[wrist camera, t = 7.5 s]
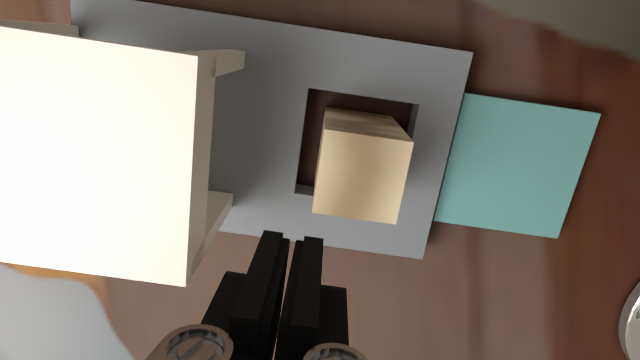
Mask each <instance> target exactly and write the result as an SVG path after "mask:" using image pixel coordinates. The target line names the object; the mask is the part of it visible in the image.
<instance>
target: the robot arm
mask: <svg viewBox="0 0 640 360" xmlns="http://www.w3.org/2000/svg"><path fill="white" fill-rule="evenodd" d="M323 241H324V238H317V237H310V236H304V241H302V240H296V243H295V248H294V253H293V258H292V263H291V268H290V272H289V277H288V282H287V287H286V292H285V297H284V302H283V307H282V312H281V306H282V298H283V290H284V283H285V275H286V268H287V260H288V253H289V245H290V239H288V238H283V233H282V232H275V231H269V230H264V231H263V233H262V236H261V239H260V241H259V244H258V246H257V249H256V251H255V254H254V257H253V259H252V262H251V264H250V267H249V269H248V272H247V274H244V273H237V272H230V271H227V272H226V273H225V274H224V276H223V278H222V281H221V283H220V285H219V287H218V289H217V291H216V293H215V295H214V297H213V299H212V301H211V303H210V305H209V307H208V309H207V311H206V313H205V315H204V318H203V320H202V322H201V324H193V325H187V326H183V327H180V328H178V329H176V330H174V331H172V332H170V333H169V334H168V335H166V336H165V337H164V338H163V339H162V340H161V341H160V343H159V344H158V345H157V346H156V347H155V348H154V350H153V351H152V352H151V353H150V354H149V356H148V357H147V358H146V359H145V360H272V358H273V353H274V348H275V343H276V338H277V343H276V350H275V358H274V360H368V359H367V358H366V357H365V355H364V354H363V353H361V352H359V351H358V350H356V349H355V348H353V347H350V346H349V339H348V316H347V294H346V288H341V287H334V286H327V285H321V273H322V257H323ZM280 313H281V317H280ZM279 321H280V322H279ZM278 327H279V329H278ZM277 333H278V335H277ZM619 339H620V344H621V348H622V349H623V351H624V353H625V355H626V357H627V358H628V360H640V282H639V283H638V284H637V285H636V287H635V288H634V289H633V291H632V292H631V294H630V295H629V296H628V299H627V301H626V303H625V305H624V307H623V309H622V312H621V316H620V320H619Z"/></svg>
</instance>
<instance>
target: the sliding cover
mask: <svg viewBox="0 0 640 360" xmlns="http://www.w3.org/2000/svg"><path fill="white" fill-rule="evenodd" d="M245 53H246V51H240V50H234V49H217V50H201V51H185V52H177V51H170V50H163V49H157V48H150V47H143V46H137V45H130V44H123V43H117V42H110V41H104V40H97V39H90V38H84V37H79V26H75V25H69V24H62V23H49V22H35V21H21V20H7V19H0V262H6V263H14V264H21V265H28V266H36V267H43V268H50V269H57V270H65V271H72V272H79V273H87V274H94V275H101V276H109V277H116V278H123V279H131V280H138V281H145V282H153V283H160V284H167V285H175V286H182V287H186V285H187V284H188V282H189V280H190V278H191V277H192V275H193V273H194V272H195V270H196V268H197V267H198V265H199V263H200V261H201V260H202V258H203V256H204V255H205V253H206V251H207V249H208V248H209V246H210V244H211V243H212V241H213V239H214V238H215V236H216V234H217V232H218V231H219V229H220V227H221V226H222V224H223V222H224V220H225V219H226V217H227V215H228V214H229V212H230V210H231V209H232V203H233V194H231V193H224V192H217V191H210V190H208V180H209V165H210V151H211V136H212V121H213V106H214V91H215V77H217V76H220V75H224V74H227V73H230V72H234V71H237V70H240V69H243V68H244V65H245Z"/></svg>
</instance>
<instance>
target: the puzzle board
mask: <svg viewBox="0 0 640 360" xmlns="http://www.w3.org/2000/svg"><path fill="white" fill-rule="evenodd" d="M70 1H71V25H75V26H79V37H84V38H90V39H97V40H104V41H110V42H117V43H123V44H130V45H137V46H143V47H150V48H157V49H163V50H170V51H177V52H185V51H201V50H217V49H234V50H240V51H246V53H245V65H244V68H243V69H240V70H237V71H234V72H230V73H227V74H224V75H220V76H217V77H215V91H214V106H213V121H212V136H211V151H210V165H209V180H208V190H210V191H217V192H224V193H231V194H233V203H232V209H231V210H230V212H229V214H228V215H227V217H226V219H225V220H224V222H223V224H222V226H221V227H220V229H219V231H224V232H231V233H238V234H245V235H253V236H260V237H261V236H262V233H263V231H264V230H269V231H275V232H282V233H283V238H288V239H290V241H295V242H296V240H302V241H304V236H310V237H317V238H324V241H323V245H324V246H331V247H338V248H345V249H352V250H360V251H367V252H374V253H381V254H388V255H395V256H402V257H410V258H417V259H423V255H424V251H425V247H426V243H427V239H428V235H429V231H430V227H431V223H432V219H433V215H434V211H435V207H436V202H437V198H438V194H439V190H440V186H441V182H442V178H443V174H444V170H445V166H446V162H447V158H448V154H449V150H450V146H451V142H452V137H453V133H454V129H455V125H456V121H457V117H458V113H459V109H460V105H461V101H462V97H463V93H464V89H465V85H466V81H467V77H468V73H469V68H470V64H471V60H472V56H473V52H468V51H461V50H455V49H448V48H442V47H435V46H428V45H422V44H415V43H409V42H402V41H396V40H389V39H383V38H376V37H370V36H363V35H357V34H350V33H344V32H337V31H331V30H324V29H318V28H311V27H305V26H298V25H292V24H285V23H279V22H272V21H266V20H259V19H252V18H246V17H239V16H233V15H226V14H220V13H213V12H207V11H200V10H194V9H187V8H181V7H174V6H168V5H161V4H155V3H148V2H142V1H135V0H70ZM309 88H313V89H319V90H326V91H333V92H339V93H346V94H353V95H359V96H366V97H373V98H380V99H386V100H393V101H400V102H406V103H413V106H412V110H411V115H410V120H409V124H408V129H407V135H408V136H409V137H410V138H411V139H412V141H413V142H414V145H413V149H412V154H411V159H410V163H409V168H408V172H407V177H406V181H405V186H404V191H403V195H402V200H401V204H400V209H399V213H398V218H397V223H396V225H395V224H388V223H381V222H373V221H366V220H359V219H352V218H345V217H338V216H331V215H324V214H317V213H312V206H313V196H314V186H307V185H300V184H296V182H297V174H298V167H299V160H300V152H301V145H302V137H303V130H304V123H305V115H306V108H307V100H308V93H309Z"/></svg>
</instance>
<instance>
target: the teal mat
mask: <svg viewBox="0 0 640 360" xmlns="http://www.w3.org/2000/svg"><path fill="white" fill-rule="evenodd" d="M600 116H601V114H600V113H596V112H591V111H584V110H578V109H571V108H565V107H558V106H551V105H545V104H538V103H531V102H525V101H518V100H511V99H505V98H498V97H492V96H485V95H478V94H472V93H465V92H464V93H463V97H462V101H461V105H460V109H459V113H458V117H457V121H456V125H455V129H454V133H453V137H452V142H451V146H450V150H449V154H448V158H447V162H446V166H445V170H444V174H443V178H442V182H441V186H440V190H439V194H438V198H437V202H436V207H435V211H434V215H433V221H438V222H445V223H452V224H459V225H466V226H473V227H480V228H487V229H494V230H501V231H508V232H515V233H522V234H529V235H536V236H543V237H550V238H557V239H558V236H559V233H560V230H561V227H562V224H563V221H564V219H565V216H566V213H567V210H568V207H569V204H570V201H571V199H572V196H573V193H574V190H575V187H576V184H577V182H578V179H579V176H580V173H581V170H582V167H583V164H584V162H585V159H586V156H587V153H588V150H589V147H590V144H591V142H592V139H593V136H594V133H595V130H596V127H597V124H598V122H599V119H600Z"/></svg>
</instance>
